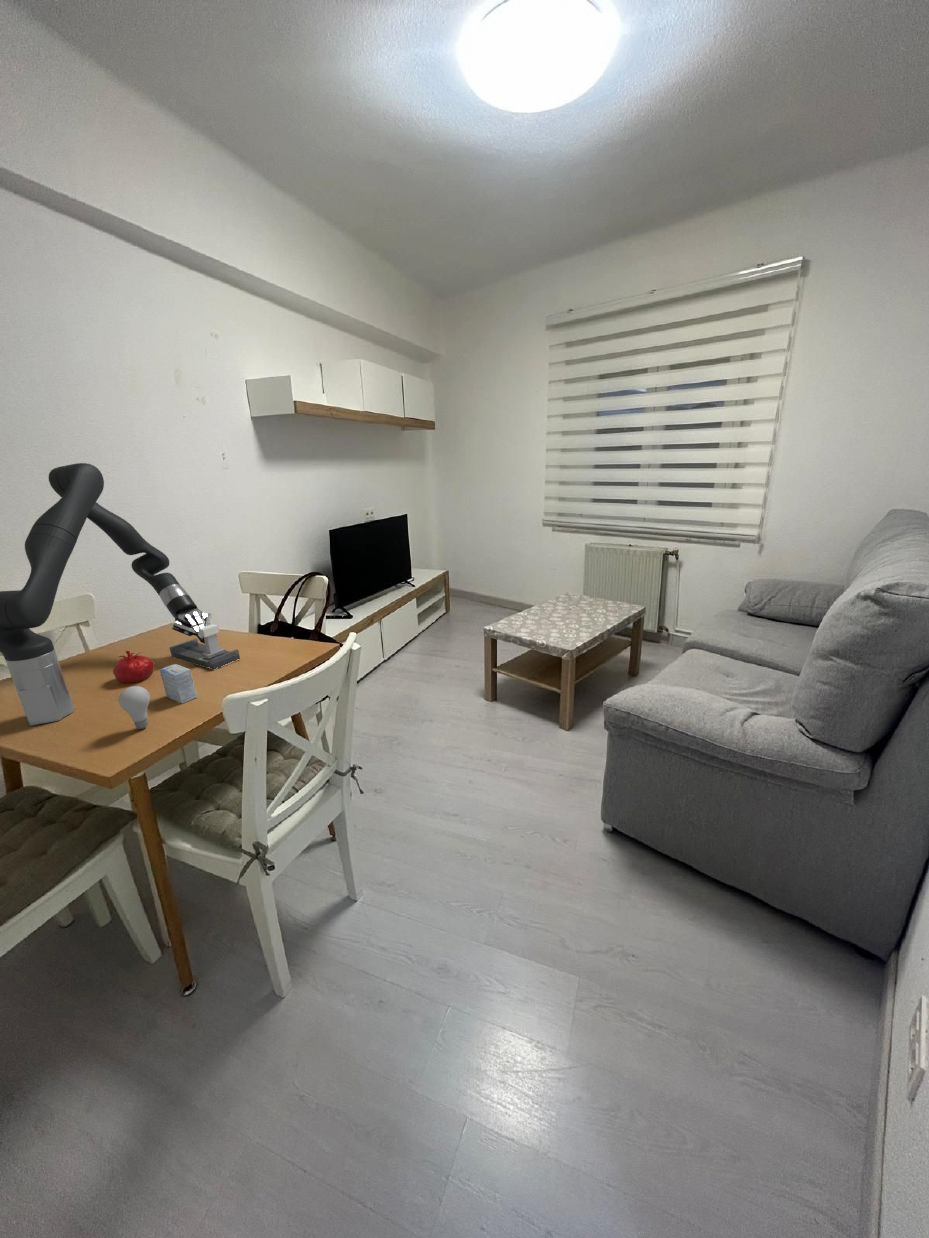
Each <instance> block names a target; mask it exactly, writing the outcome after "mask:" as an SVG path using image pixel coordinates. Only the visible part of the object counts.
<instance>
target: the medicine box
mask: <svg viewBox="0 0 929 1238" xmlns="http://www.w3.org/2000/svg"><path fill="white" fill-rule="evenodd" d="M159 673H160V677H161V681H162V684H163V688H164V692H165V695H166V698H168V699H170V700H173V701H176V702H177V703H180V704H186V703H188V702H190V701H193V700H194V699H197V698H198V694H197V689H196V686H195V683H194V678H193V675H192V670H191V669H190V668H188V667H185V666H181V665H179V664H177V663H175V664H170V665H168V666H165V667H163V668H161V669H159Z"/></svg>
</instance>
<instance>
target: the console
mask: <svg viewBox="0 0 929 1238" xmlns="http://www.w3.org/2000/svg"><path fill="white" fill-rule="evenodd" d="M198 640H199V639H198V638H194V639H191V640H187V641H184V642H180V643H177V644H174V645H172V646H169V647H168V649H169V651H170V655H171V658H174V657H175V658H174V659H178V660H180V661H185V662H188V663H190V662H191V664H193V663H194V664H193V665H196V664H198V665H197V666H200V665H201V666H200V667H203V666H204V667H203V668H206V667H210V668H212V669H216V668H217V667H221V666H223V665H225V664H228V663H230V662H232V661H236V660H237V659H240V660H241V657H240V651H239V649H238V648H237V649H234V650H231V651H229V650H226V652H225V653H223V654H220V655H217V656H215V657H212V658H209V659H208V658H205V657H202V656H201V653H204V652H207V650H206V645H205V644H204V643H201V642H199V641H198ZM236 662H237V661H236ZM223 667H224V666H223ZM221 668H222V667H221ZM212 669H211V670H212ZM216 670H217V669H216Z"/></svg>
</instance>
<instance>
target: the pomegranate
mask: <svg viewBox="0 0 929 1238" xmlns="http://www.w3.org/2000/svg"><path fill="white" fill-rule="evenodd" d="M143 653H145V652H142V654H143ZM125 654H126V655H120V656H118V658H121V659H119V660H118V661H117V662H116V664H115V666H114V667H113V669H112V672H113V673H112V674H113V675H114V678H115V679H116V681H117V682H119V683H120V684H132V683H138V682H142V681H144V680H146V679H148V678H150V677H151V676H152V674H153V672H154V666H155V665H154V661H153V660H151V659H150V658H148V657H147V656H145V655H140V652H138V653H136V654H135V652H131V651H130V650H126V651H125ZM133 654H135V655H133Z"/></svg>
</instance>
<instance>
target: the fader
mask: <svg viewBox="0 0 929 1238" xmlns="http://www.w3.org/2000/svg"><path fill="white" fill-rule="evenodd" d="M198 632H199V636H202V637H204V641H205V644H204V645H206V650H207V652H204V653H201V656H202V657H205V658H208V659H209V658H212V657H215V656H217V655H220V654H223V653H225V652H226V651H227V650H226V648H222V647H220V646H219V645H220V644H219V641H218V637H217V634H219V633H220V628H219V625H217V624H214V623H212V624H211V623H210V625H208V626H205V627H202V628H199V629H198Z"/></svg>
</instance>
